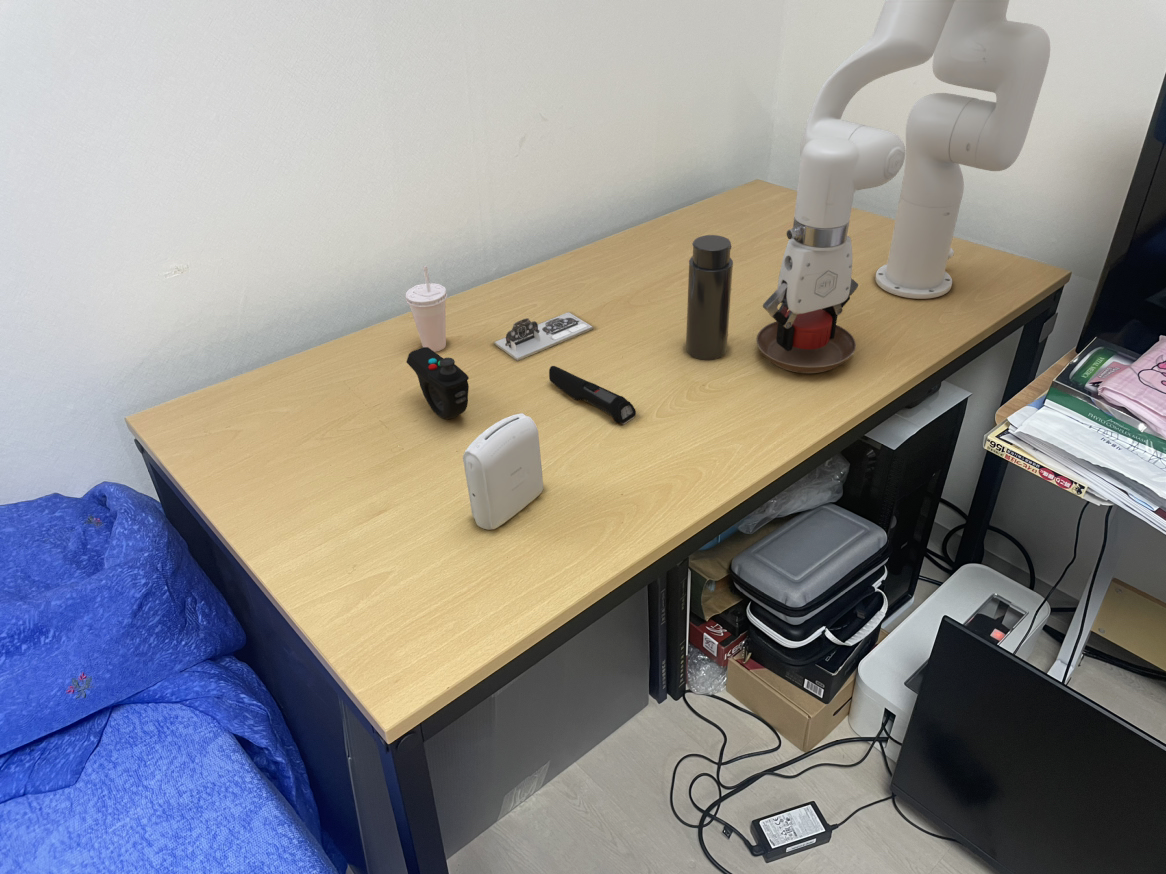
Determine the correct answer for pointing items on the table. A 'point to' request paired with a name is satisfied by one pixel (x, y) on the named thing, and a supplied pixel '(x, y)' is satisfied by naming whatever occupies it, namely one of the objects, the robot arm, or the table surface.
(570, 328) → the car cutout
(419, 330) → the smoothie
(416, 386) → the table surface
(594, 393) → the electric trimmer
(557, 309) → the table surface
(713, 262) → the thermos
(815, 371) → the saucer
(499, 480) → the photo printer
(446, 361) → the controller
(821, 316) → the lid
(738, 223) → the table surface
